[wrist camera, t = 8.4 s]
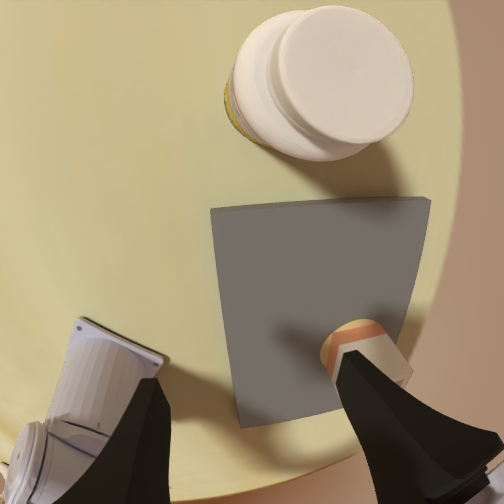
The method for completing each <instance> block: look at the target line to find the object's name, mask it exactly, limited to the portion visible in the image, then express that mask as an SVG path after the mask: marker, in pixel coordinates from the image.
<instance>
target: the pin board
mask: <svg viewBox="0 0 504 504" xmlns="http://www.w3.org/2000/svg"><path fill="white" fill-rule="evenodd" d="M430 205H431V200H429V199H427V198H425V197H375V198H348V199H327V200H309V201H294V202H280V203H267V204H255V205H243V206H232V207H222V208H212V209H210V213H211V223H212V232H213V242H214V250H215V259H216V267H217V276H218V284H219V291H220V299H221V307H222V314H223V321H224V328H225V335H226V342H227V349H228V355H229V362H230V368H231V374H232V381H233V387H234V393H235V399H236V405H237V410H238V416H239V422H240V427H241V428H247V427H254V426H261V425H268V424H274V423H279V422H285V421H290V420H295V419H300V418H304V417H309V416H313V415H317V414H322V413H326V412H329V411H333V410H337V409H341V408H343V405H342V403H341V401H340V398H339V396H338V394H337V392H336V389H335V387H334V385H333V383H332V380H331V378H330V376H329V374H328V372H327V369H326V364H327V360H328V355H329V350H330V344H331V339H332V334H333V333H334V332H339V331H344V330H348V329H353V328H358V327H362V326H366V325H371V324H375V323H379V324H380V325H381V326H382V328H383V329H384V330H385V332H386V333H387V335H388V336H389V337H390V339H391V340H392V341H393V343H394V344H396V342H397V339H398V336H399V333H400V330H401V327H402V324H403V321H404V318H405V315H406V312H407V309H408V305H409V302H410V298H411V295H412V291H413V288H414V284H415V280H416V276H417V272H418V268H419V264H420V260H421V255H422V250H423V246H424V241H425V235H426V230H427V224H428V218H429V212H430Z"/></svg>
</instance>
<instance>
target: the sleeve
mask: <svg viewBox="0 0 504 504" xmlns="http://www.w3.org/2000/svg"><path fill="white" fill-rule="evenodd" d="M353 350H358V351H359V352H360V353H362V354H363V355H364V356H365V357H366V358H367V359H368V360H369V361H371V362H372V363H373V364H374V365H375V366H376V367H377V368H378V369H380V370H381V371H382V372H383V373H384V374H385V375H387V376H388V377H389V378H390V379H391V380H393V381H394V382H395V383H396V384H397V385H399V386H400V387H401V388H403V389H404V388H405V386H406V384H407V383H408V380H409V379H410V377H411V375H412V373H413V370H412V368H411V367H410V365H409V364H408V362H407V361H406V360H405V358H404V357H403V355H402V354H401V352H400V351H399V350H398V348H397V347H396V346H395V344H394V343H393V341H392V340H391V339H390V337H389V336H388V335H387V333H386V332H385V330H384V329H383V328H382V326H381V325H380V324H379V323H375V324H371V325H366V326H362V327H358V328H353V329H348V330H344V331H339V332H334V333H333V334H332V339H331V344H330V350H329V355H328V360H327V364H326V369H327V372H328V374H329V376H330V378H331V380H332V383H333V385H334V387H335V389H336V392H337V394H338V390H337V387H336V384H335V383H336V380H337V376H338V372H339V368H340V364H341V360H342V356H343V353H345V352H349V351H353ZM338 396H339V394H338ZM339 398H340V397H339ZM340 401H341V400H340ZM347 417H348V416H347ZM348 419H349V418H348Z"/></svg>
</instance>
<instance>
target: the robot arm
mask: <svg viewBox="0 0 504 504" xmlns="http://www.w3.org/2000/svg"><path fill="white" fill-rule="evenodd" d="M79 326H80V327H81V328H80V327H79ZM156 363H157V364H156ZM163 363H164V358H163V356H161V355H159V354H156V353H154V352H152V351H150V350H147V349H145V348H143V347H141V346H138V345H136V344H134V343H132V342H130V341H128V340H125V339H123V338H121V337H119V336H117V335H115V334H113V333H111V332H109V331H107V330H105V329H103V328H101V327H99V326H97V325H95V324H94V323H92V322H90V321H88V320H86V319H84V318H82V317H78V318H77V320H76V322H75V325H74V328H73V332H72V335H71V339H70V342H69V346H68V349H67V353H66V357H65V361H64V365H63V369H62V374H61V377H60V379H59V382H58V384H57V387H56V390H55V392H54V395H53V398H52V401H51V404H50V407H49V409H48V412H47V416H46V419H45V422H44V423H43V424H42V423H40V422H38V421H34V422H33V423H28V424H26V425H25V426H24V427H23V429H22V431H21V432H20V434H19V436H18V438H17V441H16V443H15V446H14V449H13V452H12V455H11V458H10V462H9V467H8V473H7V479H6V483H5V487H4V498H5V504H170V494H169V477H168V475H169V456H170V441H171V412H170V405H169V403H168V401H167V399H166V397H165V395H164V393H163V390H162V388H161V386H160V384H159V382H158V379H157V378H153V377H154V376H155V374H156V373H157V372H158V370H159V369H160V367H161V366H162V365H163ZM335 384H336V387H337V390H338V394H339V397H340V400H341V403H342V405H343V408H344V410H345V412H346V414H347V416H348V418H349V420H350V423H351V425H352V427H353V429H354V431H355V433H356V435H357V437H358V439H359V441H360V444H361V446H362V448H363V451H364V453H365V456H366V459H367V463H368V466H369V469H370V472H371V476H372V480H373V483H374V487H375V492H376V496H377V501H378V504H504V460H503V461H502V462H501V463H499V464H498V465H497V466H496V467H495V468H493V469H492V470H491V471H489V472H488V473H487V474H485V471H486V470H487V466H486V465H487V464H488V463H489V462H490V461H491V460H493V459H494V458H495V457H496V456H497V455H498V454H499V453H500V452H501V451H502V450H504V444H503V442H502V441H501V439H500V437H499V436H498V434H497V433H495V432H491V431H487V430H483V429H479V428H476V427H473V426H470V425H467V424H464V423H461V422H459V421H457V420H454V419H452V418H450V417H448V416H446V415H443V414H441V413H439V412H437V411H436V410H434V409H432V408H430V407H429V406H427V405H426V404H424V403H422V402H421V401H419V400H418V399H416V398H415V397H413V396H412V395H411V394H409V393H408V392H407V391H405V390H404V389H403V388H401V387H400V386H399V385H397V384H396V383H395V382H394V381H393V380H391V379H390V378H389V377H388V376H387V375H385V374H384V373H383V372H382V371H381V370H380V369H378V368H377V367H376V366H375V365H374V364H373V363H372V362H371V361H369V360H368V359H367V358H366V357H365V356H364V355H363V354H362V353H360V352H359V351H358V350H353V351H349V352H345V353H343V356H342V360H341V364H340V368H339V372H338V376H337V380H336V383H335Z"/></svg>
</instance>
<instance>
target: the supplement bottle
mask: <svg viewBox="0 0 504 504" xmlns="http://www.w3.org/2000/svg"><path fill="white" fill-rule="evenodd" d="M413 94H414V80H413V73H412V69H411V65H410V62H409V60H408V57H407V55H406V53H405V51H404V49H403V47H402V46H401V44H400V43H399V41H398V40H397V39H396V37H395V36H394V35H393V34H392V32H391V31H390V30H389V29H387V28H386V27H385V26H384V25H383V24H382V23H381V22H379V21H378V20H376V19H375V18H374V17H372V16H370V15H368V14H366V13H364V12H362V11H359V10H357V9H353V8H350V7H344V6H323V7H319V8H316V9H312V10H298V11H290V12H286V13H283V14H279V15H276V16H274V17H272V18H270V19H268V20H266V21H265V22H263V23H262V24H260V25H259V26H258V27H257V28H255V29H254V30H253V32H252V33H251V34H250V35H249V36H248V37H247V39H246V40H245V41H244V43H243V44H242V46H241V48H240V50H239V52H238V55H237V57H236V60H235V62H234V65H233V68H232V70H231V73H230V76H229V78H228V81H227V84H226V87H225V93H224V104H225V109H226V113H227V115H228V118H229V120H230V122H231V123H232V124H233V126H234V127H235V128H236V129H237V130H238V131H239V132H240V133H241V134H242V135H243V136H245V137H246V138H248V139H249V140H251V141H253V142H255V143H258V144H261V145H263V146H266V147H269V148H272V149H274V150H277V151H279V152H282V153H284V154H287V155H290V156H292V157H295V158H298V159H302V160H307V161H315V162H327V161H335V160H340V159H344V158H347V157H349V156H352V155H354V154H356V153H358V152H360V151H361V150H363V149H364V148H366V147H367V146H368V145H369V144H370V143H375V142H378V141H380V140H383V139H385V138H387V137H388V136H390V135H391V134H393V133H394V132H395V131H396V130H397V129H398V128H399V127H400V126H401V125H402V123H403V122H404V121H405V119H406V117H407V116H408V113H409V111H410V108H411V105H412V101H413Z"/></svg>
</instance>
